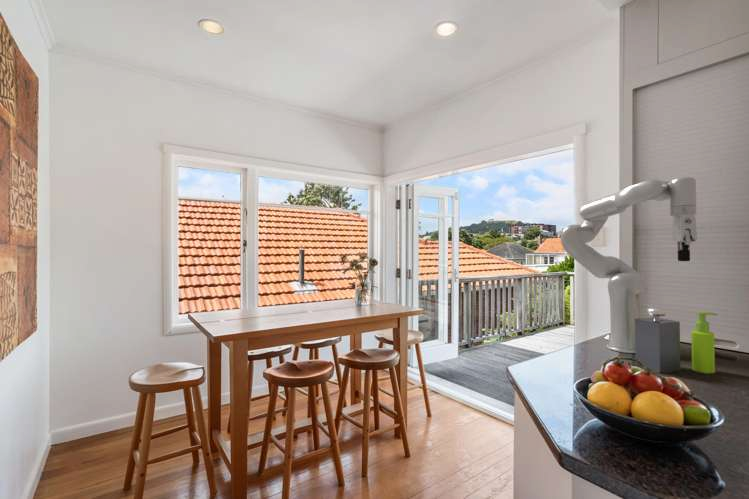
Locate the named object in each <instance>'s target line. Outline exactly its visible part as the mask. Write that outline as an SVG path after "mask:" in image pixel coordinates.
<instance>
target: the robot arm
mask: <svg viewBox="0 0 749 499" xmlns="http://www.w3.org/2000/svg"><path fill="white" fill-rule="evenodd" d="M651 200H652V201H656V202H657V201H658V202H662V201H666V200H669V216H670V217H672V218H673V219H672V241H673V242H675V243H676V245H677V261H678V262H691V245H692V244H691V242H697V240H698V231H697V230H698V229H697V221H696V215H697V181H696V179H695V178H694V177H690V176H689V177H687V176H685V177H683V176H682V177H679V178H674V179H671V180H670V181H667V180H665V181H664V180H659V179H648V180H644V181H640V182H639V183H635V184H632V185H629V186H627V187H624V188H623V189H620V190H619V191H617V192H615V193H613V194H610V195H608V196H607V195H606V196H603V197H601V198H597V199H595V200H592V201H588V202H586V203H584V204H582V205H581V207H580V209H579V215H580V218H581V219H582V220H584V221H582V223H581V224H570V225H567V226H565V227H564V228H563V230H562V232H561V234H560V243H561V246H562V249H564V251H565V252H566V253H567V255H569V257H571V258H572V259H573V260H574V261H576V262H578V263H579V264H580V266H582V267H583V268H584V269H586V270H587V271H588V272H589V273H591V274H592V275H593V276H594V277H596V278H598V279H608V282H607V291H608V292H607V293H608V295H609V296H608V297H609V306H610V307H609V310H610V313H609V314H610V316H609V317H610V335H609V334H607V335H606V336H604V340H605V341H608V343H606V348H607V349H608V350H610V351H612V352H613V351H614V352H618V353H623V354H624V353H626V354H635V319H636V318H639V309H638V299H637V296H636V295H638V294H640V293H643V291H645V289H646V287H647V285H646V284H647V282H646V279H645V277H643V275H642V274H641V273H639V272H638V271H637V270H636V269H634V268H633V267H631V266H630V265H628V264H627V263H626V262H624V261H623V260H622V259H620V258H618V257H615V256H609V255H608V256H606V255H603V254H601V252H598V251H597V250H595V249H594V248H593V247H591V246H590V245H588V243H591V242H592V241H593V240H594V239H595V238H596V237H597V235H598V234H599V233H600V231H601V229H602V228H603V227H604V225H605V224H606V222H607V220H608V219H609V217H611V216H616V215H618V214H619V215H620V214H622V213H624V212H625V211H626V210H627V209H628V208H629V207H631V206H632V207H633V205H637V204H640V203H644V202H647V201H651Z"/></svg>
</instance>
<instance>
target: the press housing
mask: <svg viewBox="0 0 749 499" xmlns="http://www.w3.org/2000/svg"><path fill="white" fill-rule="evenodd" d="M634 359H638V360H640V361H642V362H643V363H644V364H645V365H646V366H647V367H648V368H650V370H649V371H652V370H654V371H653V372H655V371H660V372H665V373H672V371H673V372H680V371H681V324H680V321H679V320H678V321H677V320H672V319H667V318H662V317H660V321H654V320H653V316H651V317H641V318H640V317H638V318H636V319H635V353H634ZM634 365H635V366H636V365H637V363H635V364H634ZM651 369H652V370H651Z"/></svg>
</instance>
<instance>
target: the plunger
mask: <svg viewBox="0 0 749 499" xmlns="http://www.w3.org/2000/svg"><path fill="white" fill-rule="evenodd" d="M666 310H667V309H666V308H662V307H647V309H646V311H647V312H646V313H647V315H648V316H652V317H653V320H654V321H660V318H661V317H666V316H667V311H666Z"/></svg>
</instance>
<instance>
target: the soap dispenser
mask: <svg viewBox="0 0 749 499" xmlns="http://www.w3.org/2000/svg"><path fill="white" fill-rule="evenodd" d="M695 314H696V315H698V320H697V321H695V330H691V370H693V371H695V372H697V373H703V374H716V366H715V365H716V362H715V359H716V358H715V357H716V356H715V353H716V352H715V351H716V350H715V333H714V332H711V331H710V322H709V321H706V319H707V318H706V317H707V316H706V315H708V316H709V315H712V316H718V313H714V312H711V311H696V312H695Z"/></svg>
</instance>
